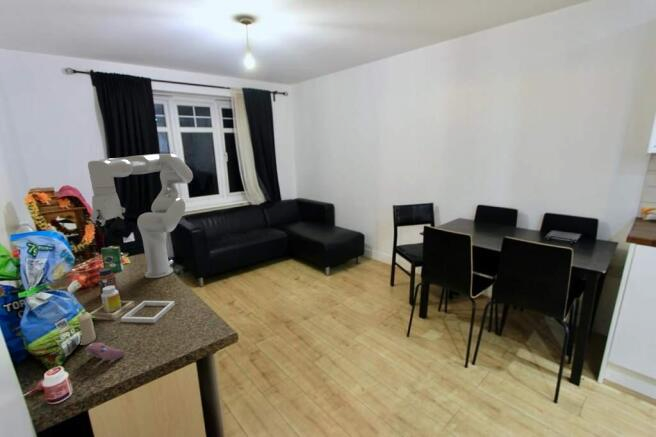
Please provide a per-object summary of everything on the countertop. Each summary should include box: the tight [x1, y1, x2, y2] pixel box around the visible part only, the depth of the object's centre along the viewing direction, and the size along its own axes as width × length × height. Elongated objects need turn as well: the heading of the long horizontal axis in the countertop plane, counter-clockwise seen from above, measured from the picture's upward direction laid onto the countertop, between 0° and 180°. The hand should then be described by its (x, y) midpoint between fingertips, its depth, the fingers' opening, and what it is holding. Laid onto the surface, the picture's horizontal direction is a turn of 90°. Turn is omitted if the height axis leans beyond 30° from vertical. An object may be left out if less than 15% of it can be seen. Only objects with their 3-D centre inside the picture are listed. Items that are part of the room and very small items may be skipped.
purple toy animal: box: [84, 342, 125, 362], centre depth 92 cm, size 10×5×7 cm, turn 71°
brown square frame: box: [89, 300, 136, 321], centre depth 119 cm, size 10×10×2 cm
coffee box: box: [100, 246, 124, 273], centre depth 158 cm, size 8×3×13 cm, turn 104°
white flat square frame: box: [120, 300, 176, 324], centre depth 118 cm, size 13×13×2 cm
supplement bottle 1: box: [97, 267, 118, 295], centre depth 133 cm, size 6×6×11 cm
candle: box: [78, 311, 97, 346], centre depth 100 cm, size 6×6×10 cm
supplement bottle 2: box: [100, 286, 122, 313], centre depth 118 cm, size 6×6×10 cm
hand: (112, 231), depth 128 cm, fingers open, 9 cm apart
